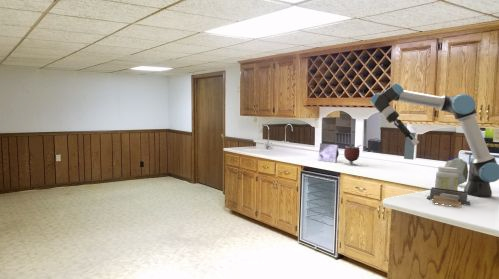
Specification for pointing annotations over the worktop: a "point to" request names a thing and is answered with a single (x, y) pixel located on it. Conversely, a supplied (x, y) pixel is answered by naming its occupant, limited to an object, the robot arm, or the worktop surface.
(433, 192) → the slot rack
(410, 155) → the slate board
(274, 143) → the worktop surface
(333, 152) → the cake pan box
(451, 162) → the rock
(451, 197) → the offcut stack
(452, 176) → the supplement tub
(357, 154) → the mate gourd
